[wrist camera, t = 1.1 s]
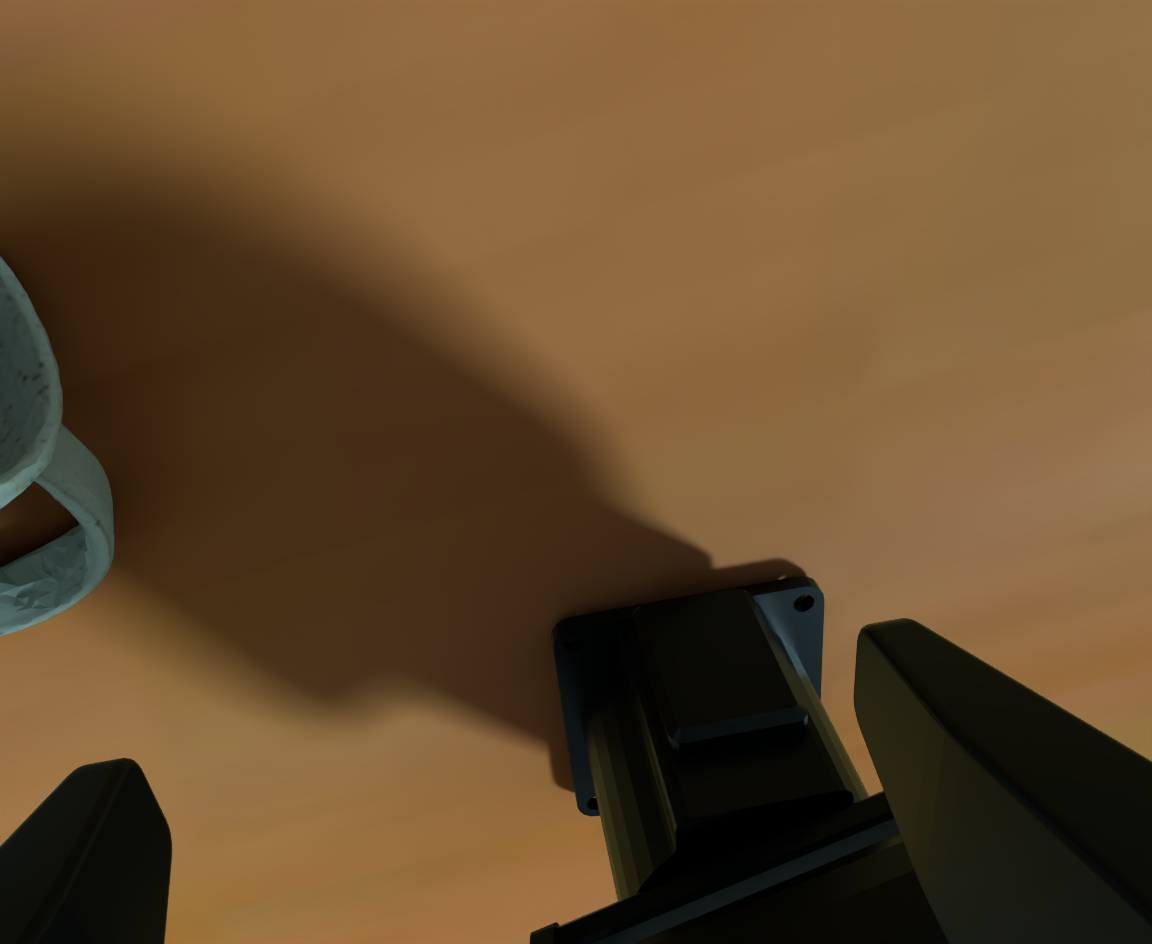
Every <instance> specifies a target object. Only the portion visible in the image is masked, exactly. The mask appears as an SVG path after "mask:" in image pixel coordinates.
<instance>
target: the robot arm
mask: <svg viewBox="0 0 1152 944" xmlns="http://www.w3.org/2000/svg"><path fill="white" fill-rule="evenodd" d="M802 595H807V596H806V597H805V598H804V599H803V600H801V601H798V602H797V601H795V600H796V599H797V598H798V597H800V596H802ZM823 622H824V596H823V593H822V591H821V589H820V588H819V586H818V584H817V583H816V582H815V581H814V580H813V579H812V578H809V577H806V576H805V577H793V578H788V579H782V580H776V581H771V582H765V583H759V584H754V585H748V586H743V587H737V588H731V589H726V590H720V591H714V592H709V593H703V594H697V595H692V596H686V597H680V598H675V599H669V600H663V601H658V602H652V603H646V604H641V605H635V606H630V607H624V608H618V609H613V610H607V611H601V612H596V613H590V614H584V615H579V616H573V617H569V618H566V619H563V620H561V621H560V622H558V623H557V624H556V625H555V627H554V628H553V630H552V636H551V638H552V645H553V651H554V658H555V664H556V671H557V677H558V684H559V690H560V697H561V704H562V710H563V717H564V723H565V730H566V736H567V743H568V750H569V756H570V763H571V769H572V776H573V782H574V789H575V795H576V801H577V806H578V809H579V811H580V812H581V813H583V814H584V815H588V816H600V817H601V822H602V827H603V831H604V836H605V841H606V846H607V851H608V856H609V860H610V865H611V870H612V875H613V880H614V884H615V889H616V894H617V899H618V902H616V903H613V904H611V905H609V906H606V907H604V908H601V909H599V910H597V911H594V912H592V913H589V914H587V915H585V916H582V917H580V918H577V919H575V920H573V921H570V922H568V923H566V924H563V925H561V926H560V925H559V924H558V923H557V922H556V923H553V924H551V925H548V926H546V927H544V928H541V929H539V930H536V931H534V932H532V933H531V935H530V944H1152V761H1150V760H1149V759H1147V758H1145V757H1144V756H1142V755H1140V754H1139V753H1137V752H1135V751H1134V750H1132V749H1130V748H1128V747H1127V746H1125V745H1123V744H1122V743H1120V742H1118V741H1117V740H1115V739H1113V738H1112V737H1110V736H1108V735H1107V734H1105V733H1103V732H1102V731H1100V730H1098V729H1097V728H1095V727H1093V726H1092V725H1090V724H1088V723H1086V722H1085V721H1083V720H1081V719H1080V718H1078V717H1076V716H1075V715H1073V714H1071V713H1070V712H1068V711H1066V710H1065V709H1063V708H1061V707H1060V706H1058V705H1056V704H1055V703H1053V702H1051V701H1049V700H1048V699H1046V698H1044V697H1043V696H1041V695H1039V694H1038V693H1036V692H1034V691H1033V690H1031V689H1029V688H1028V687H1026V686H1024V685H1023V684H1021V683H1019V682H1018V681H1016V680H1014V679H1013V678H1011V677H1009V676H1007V675H1006V674H1004V673H1002V672H1001V671H999V670H997V669H996V668H994V667H992V666H991V665H989V664H987V663H986V662H984V661H982V660H981V659H979V658H977V657H976V656H974V655H972V654H971V653H969V652H967V651H965V650H964V649H962V648H960V647H959V646H957V645H955V644H954V643H952V642H950V641H949V640H947V639H945V638H944V637H942V636H940V635H939V634H937V633H935V632H934V631H932V630H930V629H929V628H927V627H925V626H923V625H922V624H920V623H918V622H916V621H914V620H911V619H908V618H901V619H895V620H889V621H884V622H878V623H873V624H868V625H866V626H864V627H863V628H862V629H861V630H860V633H859V635H858V640H857V653H856V669H855V684H854V707H855V712H856V717H857V721H858V724H859V727H860V730H861V732H862V735H863V737H864V740H865V743H866V745H867V748H868V751H869V753H870V756H871V758H872V761H873V764H874V766H875V769H876V771H877V774H878V777H879V779H880V782H881V785H882V787H883V790H884V791H882V792H879V793H877V794H874V795H872V796H870V797H869V795H868V793H867V791H866V789H865V787H864V785H863V783H862V781H861V779H860V777H859V775H858V773H857V772H856V770H855V768H854V766H853V764H852V762H851V760H850V758H849V756H848V754H847V752H846V750H845V748H844V746H843V744H842V742H841V740H840V738H839V736H838V734H837V732H836V730H835V728H834V726H833V724H832V722H831V721H830V719H829V717H828V715H827V713H826V711H825V709H824V707H823V705H822V703H821V701H820V698H821V673H822V647H823ZM572 636H580V637H581V638H580V639H579V640H576V641H574V642H568V641H566V640H567V639H568V638H570V637H572ZM593 797H596V798H593ZM171 862H172V840H171V833H170V829H169V826H168V823H167V820H166V818H165V816H164V814H163V812H162V810H161V808H160V806H159V804H158V802H157V800H156V798H155V796H154V794H153V791H152V789H151V787H150V785H149V783H148V781H147V779H146V777H145V775H144V773H143V771H142V769H141V768H140V766H139V765H138V764H137V763H136V762H135V761H134V760H132V759H127V758H121V759H115V760H110V761H104V762H99V763H93V764H88V765H84V766H81V767H79V768H77V769H76V770H74V771H73V772H72V773H71V774H70V775H68V776H67V777H66V778H65V779H64V781H63V782H62V783H61V784H60V785H59V786H58V787H57V788H56V789H55V790H54V791H53V792H52V793H51V794H50V795H49V796H48V797H47V798H46V799H45V800H44V801H43V802H42V803H41V804H40V806H39V807H38V808H37V809H36V810H35V811H34V812H33V813H32V814H31V815H30V816H29V817H28V818H27V819H26V820H25V821H24V822H23V823H22V824H21V825H20V826H19V827H18V828H17V829H16V830H15V832H14V833H13V834H12V835H11V836H10V837H9V838H8V839H7V840H6V841H5V842H4V843H3V844H2V845H1V846H0V944H164V942H165V931H166V919H167V908H168V896H169V885H170V873H171Z"/></svg>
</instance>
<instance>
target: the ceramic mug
mask: <svg viewBox="0 0 1152 944" xmlns="http://www.w3.org/2000/svg"><path fill="white" fill-rule="evenodd" d="M62 414H63V392H62V388H61V386H60V377H59V367H58V365H57V362H56V359H55V356H54V353H53V351H52V348H51V344H50V341H49V337H48V334H47V332H46V330H45V328H44V326H43V324H42V323H41V321H40V319H39V317H38V315H37V313H36V311H35V309H34V307H33V305H32V303H31V301H30V299H29V297H28V294H27V293H26V291H25V290H24V288H23V287H22V285H21V284H20V282H19V281H18V279H17V278H16V276H15V275H14V273H13V272H12V270H11V269H10V268H9V266H8V265H7V264H6V262H5V261H4V260H3V258H2V257H1V256H0V509H1V508H3V507H4V506H5V505H7V504H8V503H9V502H10V501H12V500H13V499H14V498H16V497H17V496H18V495H19V494H21V493H22V492H23V491H24V490H25V489H26V488H27V487H28V486H29V485H30V484H31V483H32V482H33V481H34V482H36V483H38V484H39V485H41V486H42V487H43V488H44V489H46V490H47V491H48V492H49V493H50V494H51V495H52V496H53V498H54V499H55V500H57V501H58V502H59V503H60V504H62V505H63V506H64V507H65V508H67V510H68V511H69V512H70V513H71V514H72V515H73V516H74V517H75V518H76V519H77V520H78V522H79V525H78V526H77V527H74V528H72V529H71V530H70V531H68V532H67V533H66V534H64V535H62V536H60V537H59V538H57V539H55V540H53V541H51V542H50V543H48V544H46V545H44V546H42V547H41V548H38V549H36V550H34V551H32V552H30V553H28V554H26V555H24V556H22V557H20V558H19V559H17V560H15V561H13V562H11V563H9V564H8V565H6V566H4V567H0V636H2V635H5V634H8V633H12V632H15V631H18V630H21V629H24V628H27V627H30V626H32V625H35V624H37V623H39V622H42V621H44V620H47V619H49V618H51V617H53V616H55V615H57V614H59V613H60V612H62V611H64V610H66V609H68V608H70V607H71V606H73V605H74V604H76V603H77V602H79V601H80V600H82V599H83V598H84V597H86V596H87V595H88V594H89V593H90V592H92V591H93V590H94V589H95V588H96V587H97V586H98V585H99V584H100V583H101V581H102V580H103V579H104V578H105V576H106V574H107V572H108V570H109V568H110V565H111V563H112V560H113V557H114V518H113V501H112V495H111V490H110V484H109V481H108V478H107V476H106V474H105V471H104V469H103V467H102V466H101V464H100V463H99V461H98V460H97V458H96V457H95V455H94V454H93V453H92V452H91V451H90V450H89V449H88V448H87V447H86V446H85V445H84V444H83V443H81V442H80V441H79V440H78V439H77V438H76V437H75V436H74V435H73V434H72V433H71V432H70V431H69V430H68V429H67V428H66V427H65V426H64V425H63V424H62V423H61V422H62Z"/></svg>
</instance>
